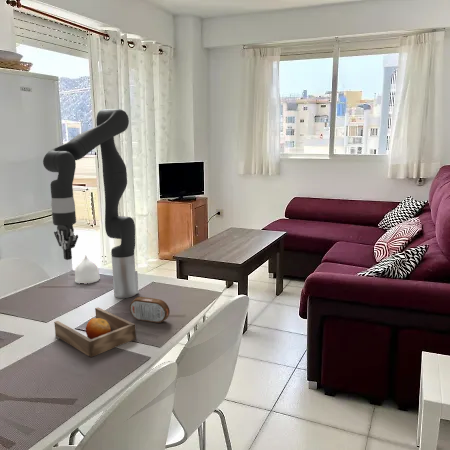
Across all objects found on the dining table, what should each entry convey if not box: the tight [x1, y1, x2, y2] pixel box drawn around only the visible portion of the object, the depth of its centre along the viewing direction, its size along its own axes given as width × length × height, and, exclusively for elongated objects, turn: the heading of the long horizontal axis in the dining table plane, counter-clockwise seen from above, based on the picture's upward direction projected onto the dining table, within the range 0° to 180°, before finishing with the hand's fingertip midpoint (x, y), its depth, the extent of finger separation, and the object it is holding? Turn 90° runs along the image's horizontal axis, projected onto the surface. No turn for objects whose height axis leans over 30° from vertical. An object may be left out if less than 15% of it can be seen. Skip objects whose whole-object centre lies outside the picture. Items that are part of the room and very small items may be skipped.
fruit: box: [85, 317, 112, 339], centre depth 141 cm, size 8×8×8 cm
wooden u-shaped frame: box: [54, 307, 137, 358], centre depth 142 cm, size 16×22×5 cm
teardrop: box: [74, 255, 101, 285], centre depth 200 cm, size 11×11×12 cm
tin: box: [129, 296, 171, 324], centre depth 154 cm, size 15×3×8 cm, turn 71°
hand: (67, 259), depth 151 cm, fingers closed
